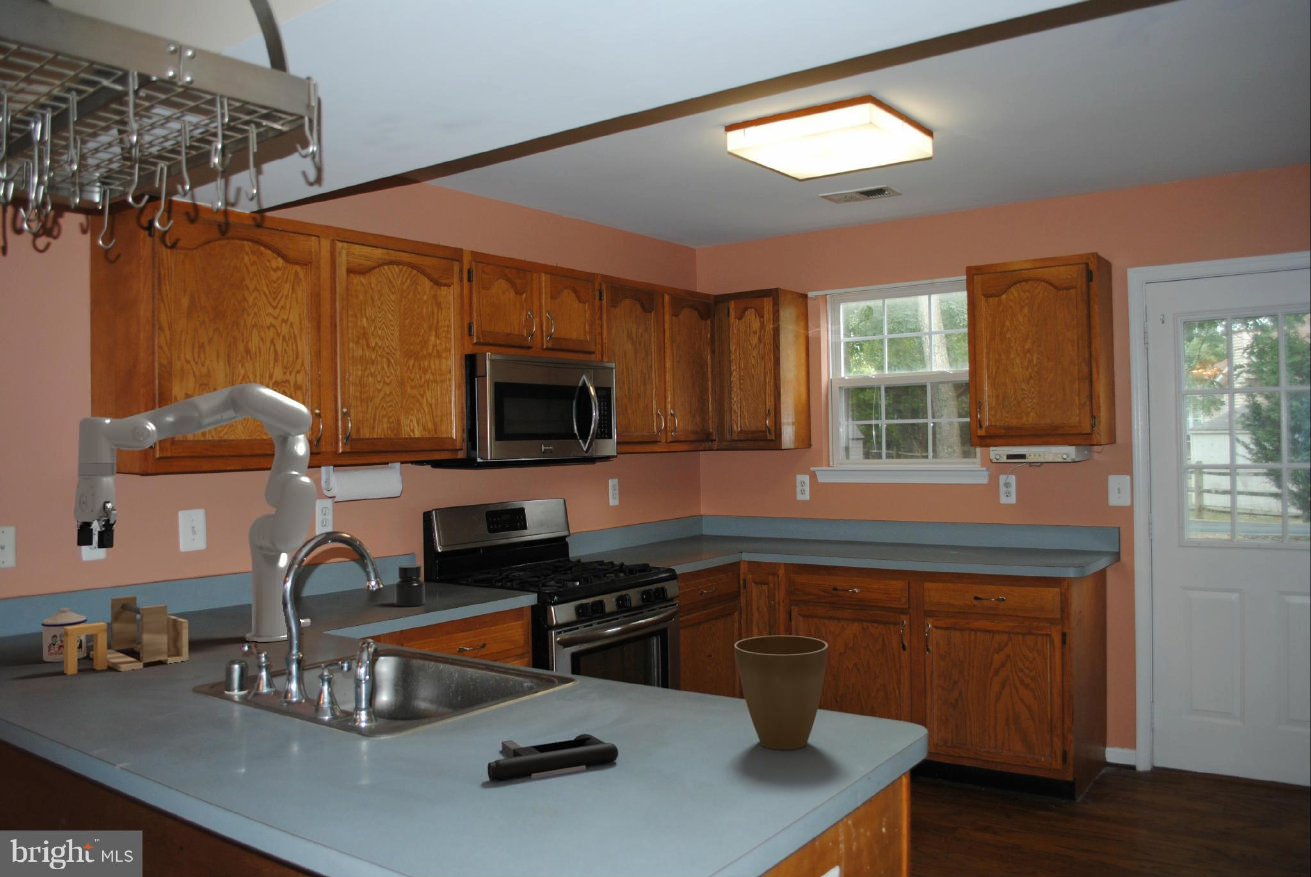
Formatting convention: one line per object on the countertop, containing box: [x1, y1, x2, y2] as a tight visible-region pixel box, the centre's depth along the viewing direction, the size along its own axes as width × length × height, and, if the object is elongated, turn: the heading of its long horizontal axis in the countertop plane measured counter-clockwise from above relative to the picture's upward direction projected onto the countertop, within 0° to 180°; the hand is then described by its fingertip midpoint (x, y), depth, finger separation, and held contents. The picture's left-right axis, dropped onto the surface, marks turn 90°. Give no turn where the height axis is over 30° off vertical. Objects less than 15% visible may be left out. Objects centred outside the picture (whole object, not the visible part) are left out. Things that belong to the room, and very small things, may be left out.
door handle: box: [487, 733, 619, 782], centre depth 146 cm, size 3×20×16 cm
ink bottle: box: [394, 564, 426, 608], centre depth 296 cm, size 10×9×12 cm
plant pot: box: [734, 635, 829, 751], centre depth 154 cm, size 15×15×16 cm
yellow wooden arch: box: [63, 621, 108, 676], centre depth 210 cm, size 8×3×10 cm, turn 136°
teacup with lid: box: [40, 607, 94, 663], centre depth 224 cm, size 12×9×12 cm
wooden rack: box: [89, 595, 189, 672], centre depth 221 cm, size 22×14×13 cm, turn 46°
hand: (94, 546), depth 217 cm, fingers open, 9 cm apart
